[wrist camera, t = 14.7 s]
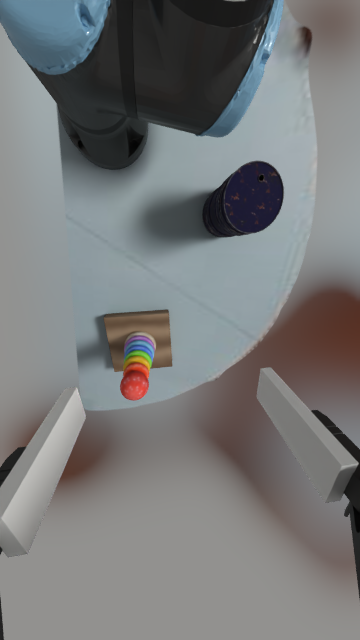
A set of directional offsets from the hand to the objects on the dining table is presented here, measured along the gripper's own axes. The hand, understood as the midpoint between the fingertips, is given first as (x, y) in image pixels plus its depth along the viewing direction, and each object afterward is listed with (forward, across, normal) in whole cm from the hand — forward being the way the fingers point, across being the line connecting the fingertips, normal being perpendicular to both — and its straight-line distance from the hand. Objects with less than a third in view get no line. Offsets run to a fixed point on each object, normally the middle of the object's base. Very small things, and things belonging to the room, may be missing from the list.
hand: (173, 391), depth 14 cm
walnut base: (+37, -7, -14) cm, 40 cm away
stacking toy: (+34, -7, -14) cm, 37 cm away
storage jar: (+37, +15, +16) cm, 43 cm away
